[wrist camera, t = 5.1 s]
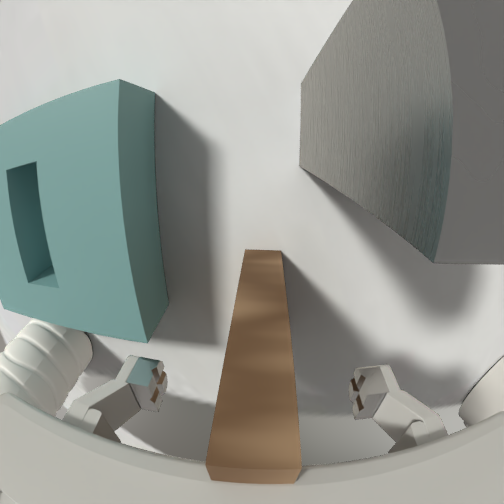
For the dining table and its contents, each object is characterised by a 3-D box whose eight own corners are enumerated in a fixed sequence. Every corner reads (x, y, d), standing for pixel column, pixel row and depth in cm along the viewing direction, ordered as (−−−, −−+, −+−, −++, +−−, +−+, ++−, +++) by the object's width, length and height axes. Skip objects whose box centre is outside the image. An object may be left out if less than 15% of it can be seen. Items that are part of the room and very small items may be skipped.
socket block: (154, 92, 12) (119, 79, 8) (168, 304, 17) (147, 343, 13) (7, 136, 13) (-29, 142, 9) (31, 285, 18) (3, 308, 14)
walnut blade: (280, 250, 15) (301, 468, 4) (275, 334, 18) (276, 513, 6) (245, 249, 15) (205, 464, 4) (244, 333, 18) (224, 511, 6)
